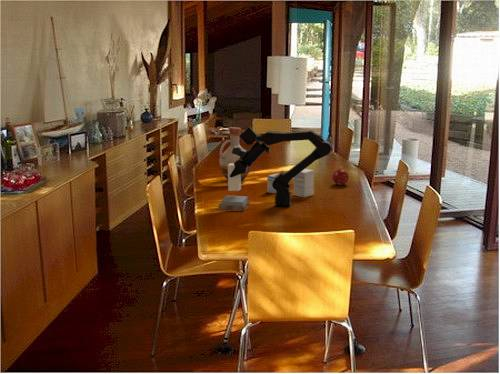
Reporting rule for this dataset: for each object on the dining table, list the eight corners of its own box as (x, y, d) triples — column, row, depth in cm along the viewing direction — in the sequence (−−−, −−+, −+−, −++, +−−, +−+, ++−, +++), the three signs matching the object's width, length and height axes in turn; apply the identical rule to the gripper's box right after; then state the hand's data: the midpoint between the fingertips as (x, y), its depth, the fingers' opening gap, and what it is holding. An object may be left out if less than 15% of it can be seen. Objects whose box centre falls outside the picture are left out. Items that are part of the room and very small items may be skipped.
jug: (231, 186, 284) (229, 130, 277) (210, 181, 297) (209, 127, 290) (258, 181, 297) (257, 127, 290) (237, 176, 310) (236, 124, 303)
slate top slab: (247, 200, 250) (247, 196, 249) (243, 206, 240) (242, 202, 240) (226, 199, 252) (226, 195, 251) (221, 205, 242) (221, 201, 242)
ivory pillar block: (241, 188, 252) (240, 163, 249) (238, 191, 247) (238, 165, 244) (230, 188, 252) (230, 163, 250) (228, 190, 248) (227, 165, 245)
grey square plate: (249, 205, 251) (249, 200, 250) (244, 212, 239) (244, 207, 239) (224, 204, 253) (224, 199, 252) (218, 211, 242) (218, 206, 241)
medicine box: (276, 189, 278) (276, 173, 276) (283, 190, 275) (283, 174, 273) (267, 192, 272) (267, 175, 270) (274, 193, 269) (274, 176, 267)
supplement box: (302, 192, 271) (302, 168, 268) (314, 195, 266) (314, 170, 263) (293, 195, 266) (293, 170, 263) (304, 197, 261) (304, 172, 258)
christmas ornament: (330, 185, 284) (330, 167, 282) (335, 182, 292) (335, 164, 290) (345, 187, 281) (346, 168, 278) (350, 183, 288) (351, 165, 286)
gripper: (245, 137, 252) (223, 159, 257) (238, 143, 235) (214, 167, 239) (262, 153, 253) (240, 176, 257) (255, 161, 235) (231, 184, 240)
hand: (231, 175), depth 248 cm, fingers closed on ivory pillar block, 5 cm apart
